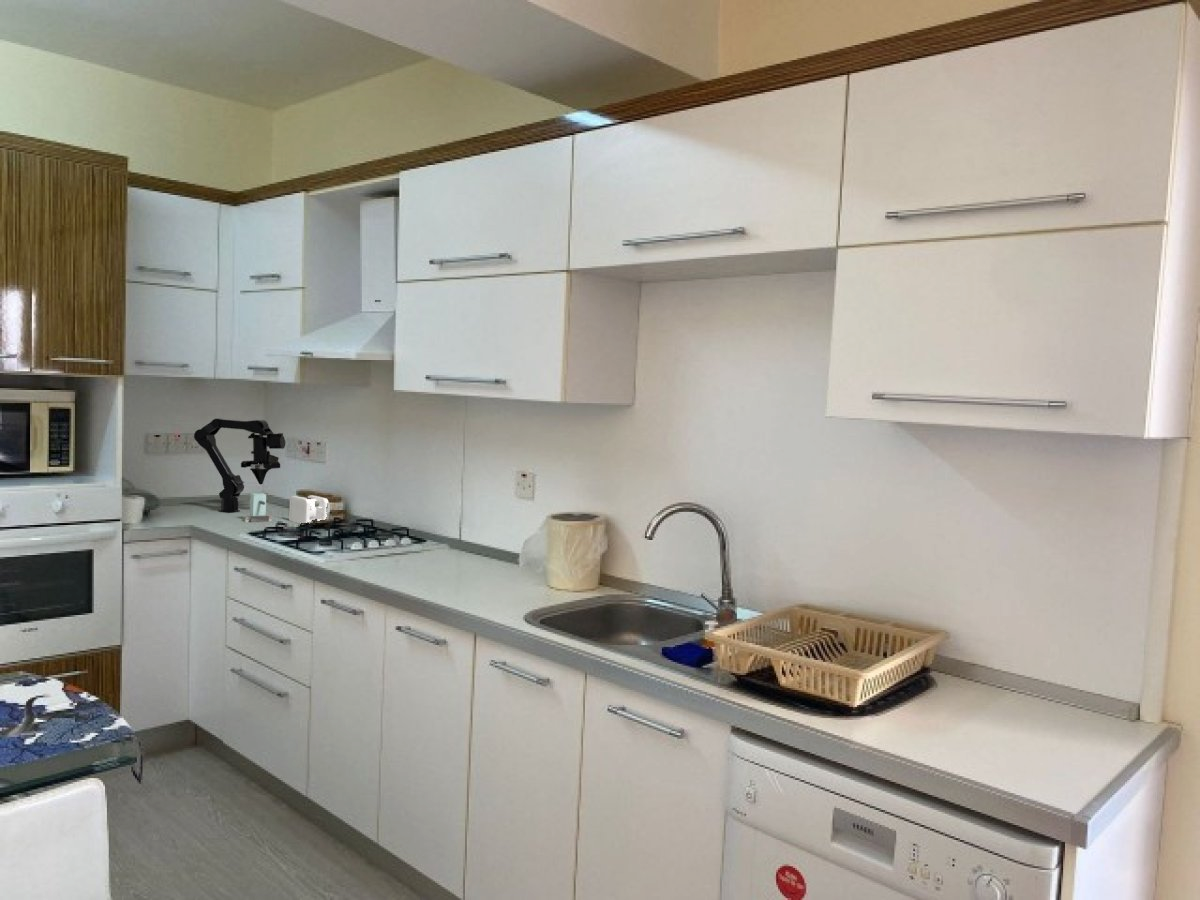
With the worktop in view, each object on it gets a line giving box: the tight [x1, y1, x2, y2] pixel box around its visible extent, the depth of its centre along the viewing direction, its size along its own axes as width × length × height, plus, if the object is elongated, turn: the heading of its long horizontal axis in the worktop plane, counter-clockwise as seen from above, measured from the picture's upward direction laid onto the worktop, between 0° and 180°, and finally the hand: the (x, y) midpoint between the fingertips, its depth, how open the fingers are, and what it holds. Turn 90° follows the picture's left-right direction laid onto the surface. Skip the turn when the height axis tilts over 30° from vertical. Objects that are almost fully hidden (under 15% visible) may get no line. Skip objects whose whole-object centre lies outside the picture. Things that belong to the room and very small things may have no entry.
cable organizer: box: [288, 494, 330, 525], centre depth 362 cm, size 15×11×12 cm
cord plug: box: [249, 492, 267, 522], centre depth 355 cm, size 9×6×11 cm, turn 39°
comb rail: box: [242, 515, 273, 523], centre depth 360 cm, size 16×12×4 cm
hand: (260, 484), depth 385 cm, fingers closed
